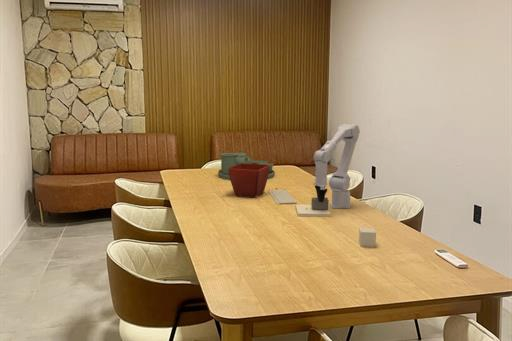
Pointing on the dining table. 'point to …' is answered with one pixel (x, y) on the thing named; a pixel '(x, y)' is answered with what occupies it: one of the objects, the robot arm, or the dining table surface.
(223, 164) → the tea set
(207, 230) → the dining table surface
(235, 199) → the dining table surface
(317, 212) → the board
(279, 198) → the baseboard molding
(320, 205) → the block
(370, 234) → the light gray cube
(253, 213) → the dining table surface
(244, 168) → the plant pot
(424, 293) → the dining table surface
